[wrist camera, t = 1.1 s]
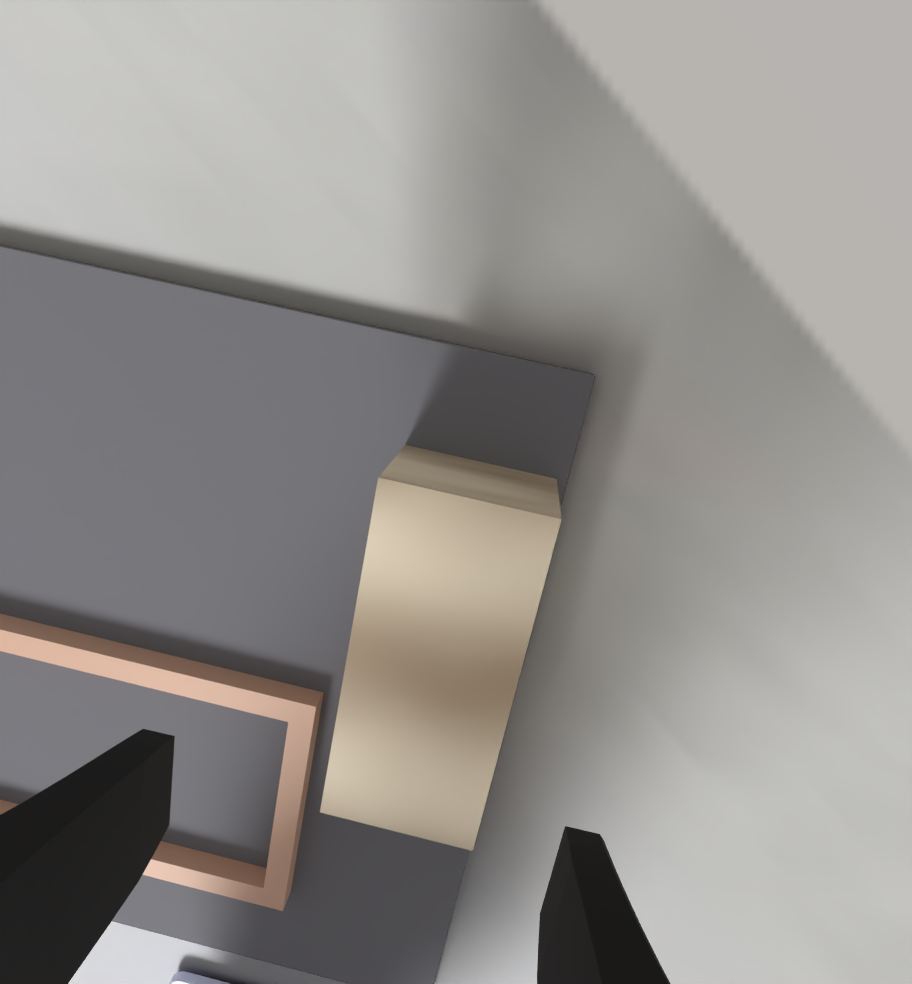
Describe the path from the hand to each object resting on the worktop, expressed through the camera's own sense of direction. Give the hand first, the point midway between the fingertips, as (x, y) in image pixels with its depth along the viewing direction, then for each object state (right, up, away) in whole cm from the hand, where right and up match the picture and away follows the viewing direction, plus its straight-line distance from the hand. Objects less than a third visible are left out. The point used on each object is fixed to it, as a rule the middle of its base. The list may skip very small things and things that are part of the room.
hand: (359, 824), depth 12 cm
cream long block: (+1, +2, +9) cm, 9 cm away
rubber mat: (-7, 0, +11) cm, 13 cm away
